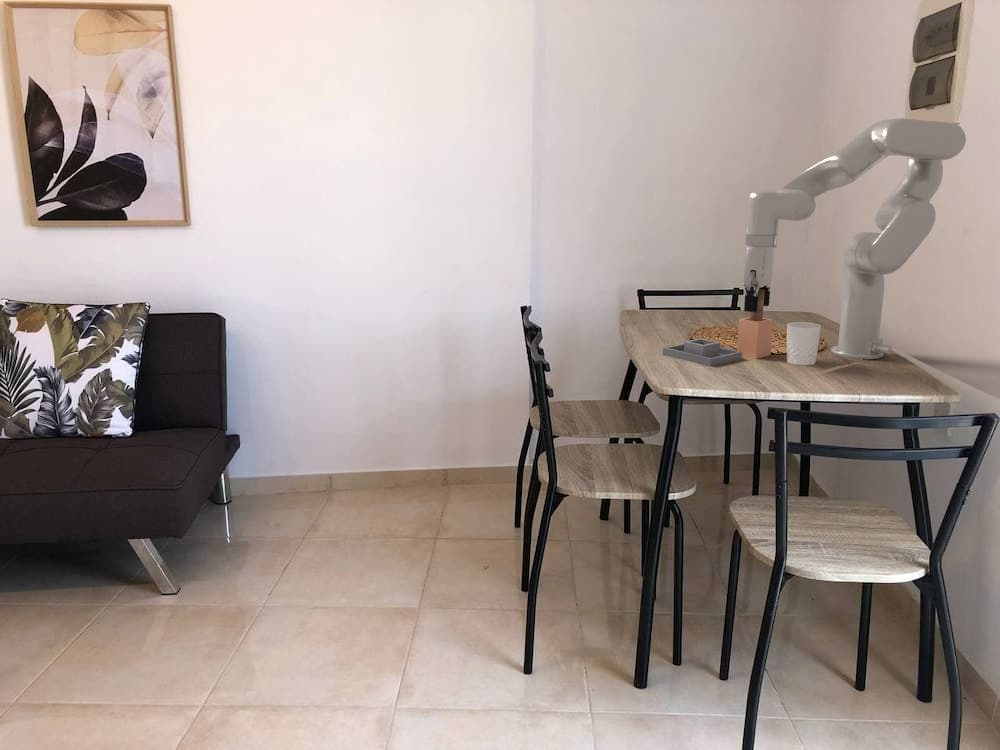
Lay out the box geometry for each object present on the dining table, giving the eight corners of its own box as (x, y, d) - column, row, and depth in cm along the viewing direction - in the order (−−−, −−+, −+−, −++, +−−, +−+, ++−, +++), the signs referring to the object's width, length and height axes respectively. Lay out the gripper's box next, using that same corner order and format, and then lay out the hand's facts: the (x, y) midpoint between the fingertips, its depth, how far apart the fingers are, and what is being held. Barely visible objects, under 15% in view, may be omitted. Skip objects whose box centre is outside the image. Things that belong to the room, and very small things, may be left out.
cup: (770, 357, 204) (773, 319, 202) (755, 360, 201) (758, 322, 198) (751, 353, 209) (753, 316, 206) (736, 356, 206) (738, 319, 203)
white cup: (801, 369, 192) (805, 329, 189) (777, 362, 199) (780, 324, 196) (824, 365, 195) (828, 326, 193) (799, 358, 202) (802, 320, 200)
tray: (741, 361, 201) (742, 344, 200) (710, 368, 194) (711, 350, 193) (693, 350, 214) (694, 334, 212) (662, 356, 207) (663, 340, 206)
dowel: (762, 354, 204) (767, 290, 200) (754, 356, 203) (759, 291, 198) (752, 352, 207) (756, 288, 203) (744, 354, 205) (748, 290, 201)
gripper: (757, 238, 206) (752, 302, 211) (735, 243, 192) (730, 312, 197) (786, 239, 202) (781, 304, 206) (765, 245, 188) (760, 315, 193)
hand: (756, 308), depth 202 cm, fingers open, 9 cm apart
